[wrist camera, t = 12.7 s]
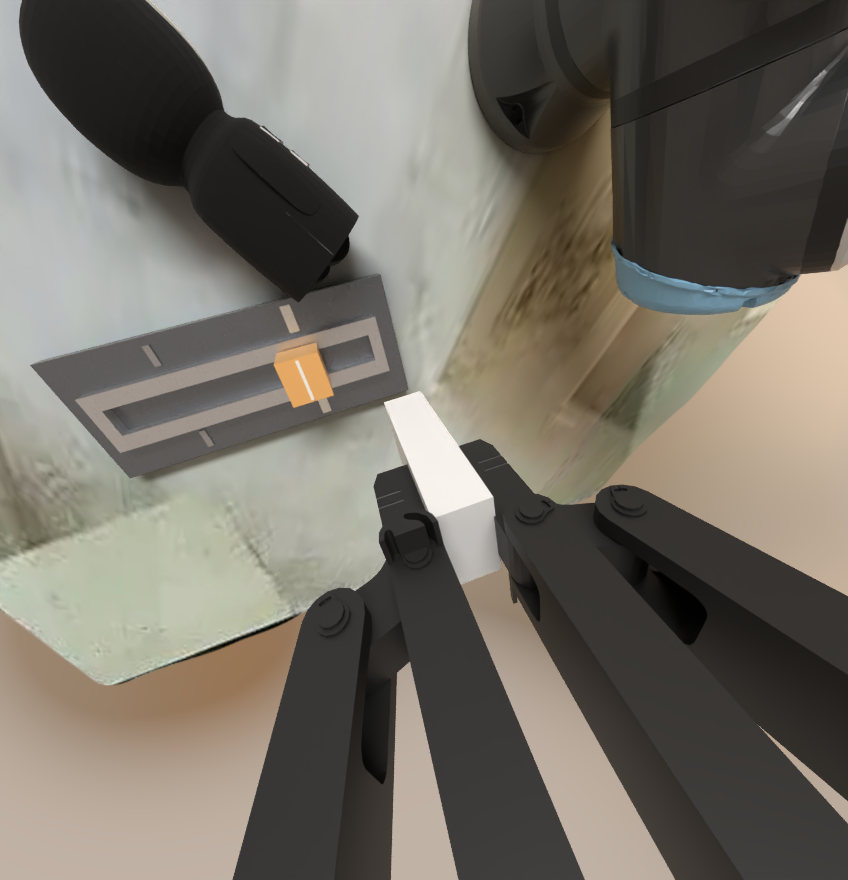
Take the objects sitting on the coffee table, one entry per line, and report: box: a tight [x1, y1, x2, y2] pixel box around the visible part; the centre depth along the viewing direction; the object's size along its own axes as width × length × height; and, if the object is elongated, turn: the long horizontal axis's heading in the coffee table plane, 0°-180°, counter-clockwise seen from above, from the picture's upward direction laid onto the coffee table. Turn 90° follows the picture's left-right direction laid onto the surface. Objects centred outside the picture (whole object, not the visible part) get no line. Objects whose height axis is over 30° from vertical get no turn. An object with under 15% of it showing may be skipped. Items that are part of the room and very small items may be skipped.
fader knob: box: [274, 342, 334, 408], centre depth 33 cm, size 4×4×5 cm
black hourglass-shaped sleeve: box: [19, 0, 359, 302], centre depth 25 cm, size 9×9×20 cm
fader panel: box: [30, 274, 408, 478], centre depth 35 cm, size 32×13×3 cm, turn 102°
